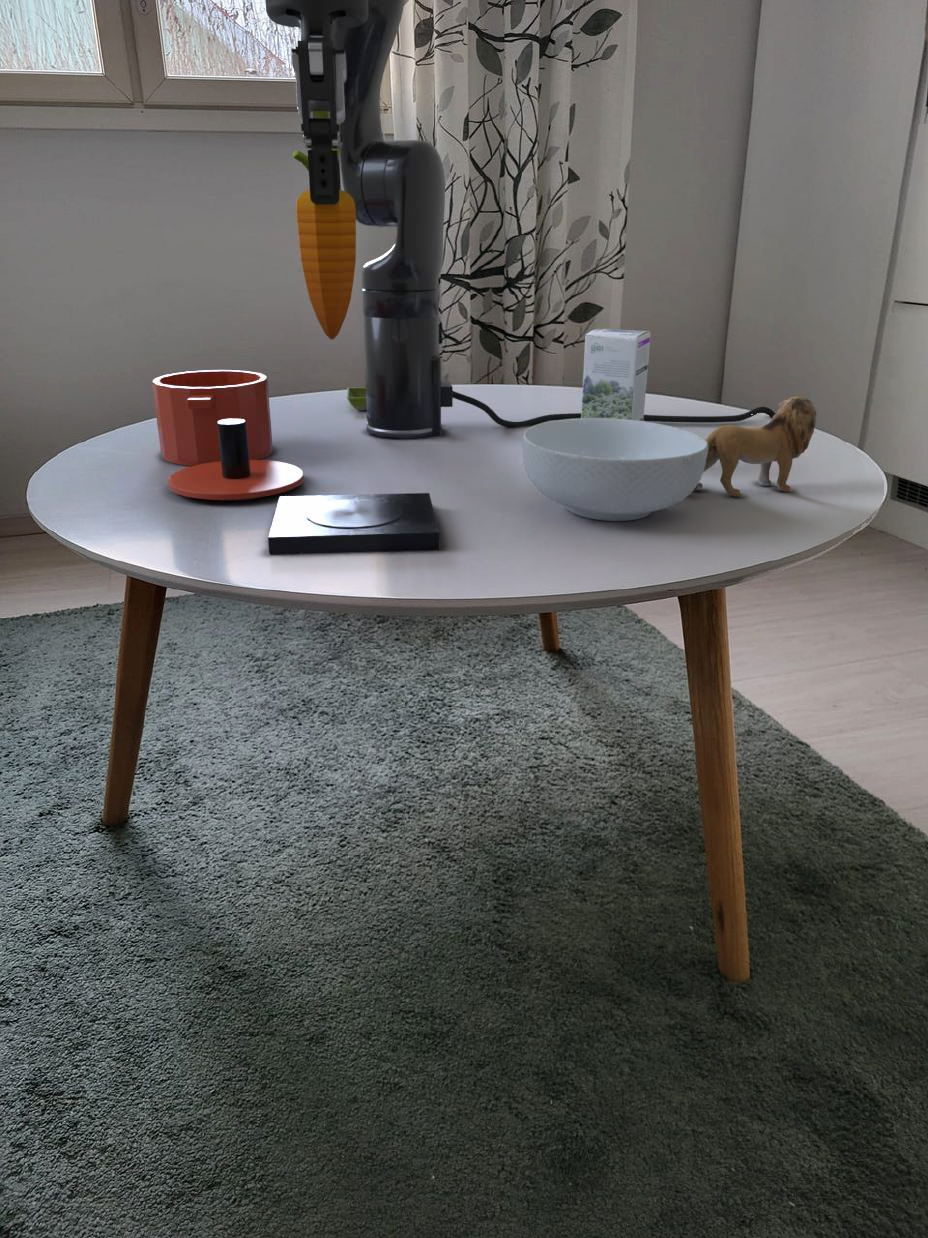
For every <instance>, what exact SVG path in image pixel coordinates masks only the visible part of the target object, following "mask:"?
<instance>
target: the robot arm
mask: <svg viewBox="0 0 928 1238" xmlns="http://www.w3.org/2000/svg"><path fill="white" fill-rule="evenodd" d="M404 7H405V0H264V11H265V14H266V16H267V18H268V19H269V21H271V22H272V23H274V24H277V25H280V26H283V27H286V28H287V27H288V28H299V29H300V40H297V41H296V42H297V46H295V48H291V50H290V52H291V53H290V54H291V68H292V74H293V77H294V79H295V94H296V108H297V113H298V116H299V117H300V118H301V120H302V123H300V130H301V132H303V134H302V135H303V136H302V139H303V141H302V142H303V144H305V149H307V156H308V167H309V171H308V182H309V184H308V185H309V190H310V199H311V201H312V202H313V203H314V204H322V205H334V204H337V203H338V202H339V199H340V196H339V190H342V188H343V191H345V192H347V193H348V194H349V195H350V196H351V197H352V198H353V200H354V203H355V209H356V223H358V224H359V225H361V226H363V227H367V228H381V229H383V228H385V229H396V237H395V242H394V244H393V246H392V247H391V248H390V249H389V250H388V251H387V252H386V253H384V254H383V255H381V256H379V257H377V258H375V259H372V260H370V261H367V262H366V263H364V265H363V267H362V270H361V288H362V310H363V311H362V314H363V341H364V342H363V343H364V367H365V369H364V371H365V387H366V402H367V410H366V432H367V433H369V434H370V435H374V436H378V437H384V438H393V439H394V438H395V439H396V438H397V439H398V438H399V439H409V438H421V437H428V436H434V435H438V436H439V435H442V408H453V405H454V404H453V403H454V401H453V400H458V401H461V402H464V403H465V404H469V405H472V406H475V407H476V408H478V409H480V410H482V411H483V412H484V413H486V414H487V416H489V418H491V420H492V421H493V422H494V423H496V424H497V425H499V426H501V427H504V428H509V429H511V428H513V429H514V428H521V427H529V426H535V425H538V424H542V423H545V422H550V421H556V420H564V419H577V418H581V412H573V413H571V412H570V413H553V414H552V413H551V414H546V415H541V416H537V417H534V418H533V417H532V418H530V419H525V420H522V421H521V420H520V421H510V420H506V419H504V418H502V417H500V416H499V415H497V413H496V412H495V411H494V409H492V408H491V407H490V406H488V405H487V404H486V403H484V402H482V401H480V400H479V399H476V398H473V397H471V396H468V395H465V394H464V393H461V392H457V391H454V390H453V389H454V388H453V385H452V383H451V381H450V380H442V371H441V370H442V361H441V360H442V359H441V356H440V328H439V327H440V316H439V315H440V313H439V312H440V310H439V309H440V307H439V305H440V303H439V301H440V299H439V296H440V295H439V292H440V291H439V287H440V286H439V285H440V283H439V280H440V279H439V278H440V272H441V268H442V264H443V263H442V262H443V252H444V226H445V225H444V223H445V207H446V206H445V205H446V179H445V171H444V165H443V161H442V159H441V155H440V153H439V151H438V150H437V148H436V147H435V146H434V145H433V144H432V143H431V142H429V141H426V140H423V139H422V140H421V139H402V140H385V139H384V134H383V128H382V120H381V119H382V118H381V88H382V82H383V77H384V73H385V70H386V67H387V63H388V60H389V57H390V55H391V52H392V49H393V46H394V44H395V40H396V37H397V34H398V31H399V28H400V24H401V21H402V17H403V11H404ZM332 149H339V150H340V151H339V160H338V151H337V150H332ZM341 183H342V187H341ZM757 413H758V414H757ZM751 414H753V415H751ZM759 414H765V415H767V416H768V415H769V416H768V417H769V418H770V419H772V418H773V416H774V415H775V414H776V413H775V411H773V409H772V408H770V407H767V406H759V407H756V408H753V409H751V410H749V411H747V412H744V413H741V414H735V415H706V416H705V415H704V416H702V415H659V414H644V418H643V421H644V422H653V423H692V424H693V423H694V424H695V423H698V424H699V423H701V424H704V423H705V424H706V423H707V424H713V423H714V424H715V423H716V424H717V423H735V422H741V421H744V420H747V419H750V418H752V417H754V416H756V415H759Z"/></svg>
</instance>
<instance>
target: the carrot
mask: <svg viewBox="0 0 928 1238" xmlns="http://www.w3.org/2000/svg"><path fill="white" fill-rule="evenodd" d="M332 150H337V151H338V160H340V156H339V151H340V150H339V149H332ZM292 158H294V159H295V160H296V161H298V162H300V163H301V164H302V165H303V167H305V169H306V170H307V171H308V172H309V167H308V155H306V153H304V152H302V151H300V150H295V151H294V152H293V153H292ZM339 196H340V199H339V202H338V203H337V204H334V205H322V204H314V203H313V202H312V201H311V199H310V189H307V190H304V191H303V192H301V193H300V194H299V196H298V197H297V199H296V204H295V214H296V215H295V216H296V225H297V236H298V244H299V255H300V262H301V267H302V268H301V269H302V272H303V273H302V274H303V277H304V282H305V287H306V290H307V294H308V298H309V301H310V303H311V307H312V309H313V311H314V314H315V317H316V319H317V321H318V323H319V325H320V327H321V329H322V331H323V333H324V334H325V335H326V337H328V338H329V340H335V338H336V337H337V336H338V335H339V334H340V332H341V330H342V327H343V324H344V322H345V320H346V317H347V314H348V310H349V307H350V305H351V304H350V303H351V299H352V292H353V287H354V285H353V284H354V280H355V270H356V263H357V221H356V209H355V203H354V200H353V198H352V197H351V196H350V195H349V194H348V193H347V192H345V191H344V190H342V189H341V190H339Z"/></svg>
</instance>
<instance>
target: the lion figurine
mask: <svg viewBox="0 0 928 1238" xmlns="http://www.w3.org/2000/svg"><path fill="white" fill-rule="evenodd" d="M817 415H818V413H817V411H816V408H815V406H814V404H813V402H812V401H811V400H810V399H809V398H806V397H805V396H790V397H789V398H788V399H784V400H783V401H781V402H780V403H779V404H778V410H777V412H776V413H775V415H774V416H773V418H771V419H770V421H769V422H768V423H766V424H765V425H763V426H761V427H743V426H738V425H733V424H728V425H727V424H725V425H722V426H719V427H717V428H716V429H714V430H713V431H712V432H711V433H710V434H709V435H708V436H707V438H706V439H705V440H706V441H707V443H708V454H707V458H706V464H705V467H704V471H703V473H705V472H706V471H707V470H709V469H710V468H712V466H714V465H715V464H717V462H718V461H719V463H720V465H721V476H720V479H719V482H720V483H721V485H722V487H723V488H724V490H725V492H726V494H727V495H728V496H729V497H734V498H735V497H740V496H741V495H742V492H741V491H740V489H738V488H735V487H733V484H732V478H733V475H734V473H735V471H736V469H737V467H738V464H739V462H740V461H741V462H743V463H745V464H750V465H760V468H759V469H760V470H759V475H758V479H757V480H758V481H757V484H758V485H759V486H764V487H767V486H768V487H769V486H771V484H772V480H770V470H771V466H772V463H773V462H776V463H777V465H778V476H777V480H776V485H777V489H778V491H780V492H784V493H789V492H791V490H792V488H791V486H790V485H789V484H787V481H788V479H789V475H790V472H791V469H792V467H793V460H794V459H798V458H799V457H800V456H801V455H802V454H803V453H805V451H806V450H807V449H808V448H809V445H810V442H811V439H812V437H813V435H814V433H815V428H816V425H817ZM703 487H704V486H703V483H701V482H699V483H698V485H697V486H696V488H695V489H694V491H692V492H691V493H692V494H693V493H695V492H696V491H702V490H703ZM691 493H690V494H691Z"/></svg>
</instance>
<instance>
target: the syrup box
mask: <svg viewBox="0 0 928 1238" xmlns="http://www.w3.org/2000/svg"><path fill="white" fill-rule="evenodd" d="M650 349H651V331H649V330H635V329H634V330H633V329H631V330H630V329H615V328H614V329H613V328H595V329H592V330H590V331H589V332H587V333H586V334H585V336H584V355H583V374H582V375H583V377H582V393H581V412H580V413H581V418H611V419H626V420H636V421H643V418H644V415H645V403H646V395H647V393H646V392H647V381H648V371H649V361H650Z"/></svg>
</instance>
